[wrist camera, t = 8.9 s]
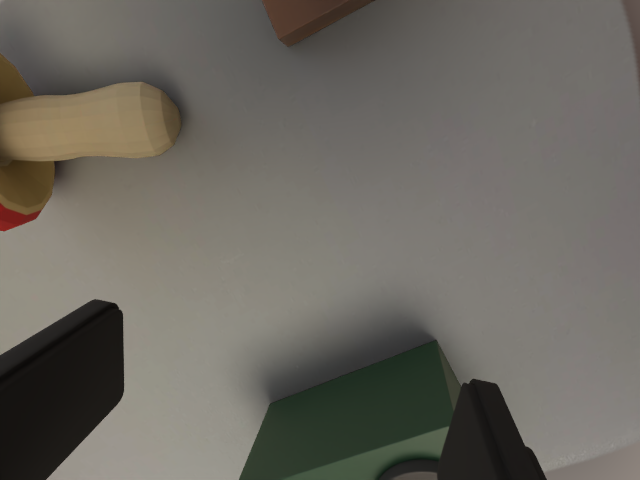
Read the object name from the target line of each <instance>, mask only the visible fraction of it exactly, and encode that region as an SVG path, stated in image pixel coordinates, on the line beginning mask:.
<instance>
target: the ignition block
mask: <svg viewBox="0 0 640 480" xmlns="http://www.w3.org/2000/svg"><path fill="white" fill-rule="evenodd" d="M373 1H374V0H262V2H263V4H264V7H265V9H266V11H267V14H268V16H269V18H270V21H271V23H272V26H273V28H274V30H275V33H276V35H277V37H278V39H279V40H280V41H281V42H283V43H284V44H285V45H286V46H287V47H289V46H291V45H293V44H295V43H297V42H298V41H300V40H302V39H304V38H306V37H308V36H309V35H311V34H313V33H315V32H317V31H319V30H321V29H322V28H324V27H326V26H328V25H330V24H332V23H334V22H335V21H337V20H339V19H341V18H343V17H345V16H347V15H348V14H350V13H352V12H354V11H356V10H358V9H360V8H361V7H363V6H365V5H367V4H369V3H371V2H373Z"/></svg>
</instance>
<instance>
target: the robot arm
mask: <svg viewBox="0 0 640 480" xmlns="http://www.w3.org/2000/svg"><path fill="white" fill-rule="evenodd" d="M123 393H124V351H123V313H122V311H121V310H119V308H118V306H117V304H115V303H111V302H107V301H102V300H96V299H94V300H92V301H90V302H88V303H87V304H85V305H83V306H82V307H80V308H78V309H77V310H75V311H73V312H72V313H70V314H68V315H67V316H65V317H63V318H62V319H60V320H58V321H57V322H55V323H53V324H52V325H50V326H48V327H47V328H45V329H43V330H42V331H40V332H38V333H37V334H35V335H33V336H32V337H30V338H28V339H27V340H25V341H23V342H22V343H20V344H18V345H17V346H15V347H13V348H12V349H10V350H8V351H7V352H5V353H3V354H2V355H0V480H46V479H47V478H48V477H49V476H50V475H51V474H52V473H53V472H54V471H55V470H56V468H57V467H58V466H59V465H60V464H61V463H62V462H63V461H64V460H65V459H66V458H67V457H68V456H69V455H70V454H71V453H72V452H73V451H74V450H75V448H76V447H77V446H78V445H79V444H80V443H81V442H82V441H83V440H84V439H85V438H86V437H87V436H88V435H89V434H90V433H91V432H92V431H93V429H94V428H95V427H96V426H97V425H98V424H99V423H100V422H101V421H102V420H103V419H104V418H105V417H106V416H107V415H108V414H109V413H110V412H111V410H112V409H113V408H114V407H115V406H116V405H117V404H118V403H119V402H120V400H121V398H122V396H123ZM437 480H547V479H546V477H545V475H544V473H543V471H542V469H541V466H540V464H539V462H538V460H537V458H536V456H535V454H534V453H533V451H532V450H531V449H530V448H529V447H526V446H525V445H524V443H523V440H522V438H521V436H520V434H519V431H518V429H517V427H516V425H515V423H514V420H513V418H512V416H511V414H510V411H509V409H508V407H507V405H506V402H505V400H504V398H503V396H502V394H501V391H500V389H499V387H498V385H497V384H495V383H490V382H486V381H481V380H476V379H472V380H471V381H470V383H469V384H467V383H463V385H462V387H461V390H460V393H459V396H458V400H457V403H456V406H455V410H454V413H453V416H452V420H451V423H450V426H449V430H448V433H447V436H446V439H445V443H444V446H443V449H442V453H441V456H440V459H439V463H438V468H437Z"/></svg>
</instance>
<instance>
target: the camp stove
mask: <svg viewBox="0 0 640 480" xmlns="http://www.w3.org/2000/svg"><path fill="white" fill-rule="evenodd" d="M460 390H461V386H460V384H459V382H458V380H457V378H456V376H455V374H454V372H453V371H452V369H451V367H450V365H449V363H448V361H447V359H446V357H445V356H444V354H443V352H442V350H441V348H440V346H439V344H438V342H437V341H436V340H435V341H433V342H430V343H427V344H425V345H422V346H420V347H417V348H414V349H412V350H409V351H407V352H404V353H401V354H399V355H396V356H394V357H391V358H388V359H386V360H383V361H381V362H378V363H375V364H373V365H370V366H368V367H365V368H362V369H360V370H357V371H355V372H352V373H349V374H347V375H344V376H342V377H339V378H336V379H334V380H331V381H329V382H326V383H323V384H321V385H318V386H316V387H313V388H310V389H308V390H305V391H303V392H300V393H297V394H295V395H292V396H290V397H287V398H284V399H282V400H279V401H277V402H274V403H271V404H270V405H269V408H268V410H267V413H266V415H265V417H264V420H263V422H262V425H261V427H260V430H259V432H258V434H257V437H256V439H255V442H254V444H253V447H252V449H251V451H250V454H249V456H248V459H247V461H246V464H245V466H244V468H243V471H242V473H241V476H240V478H239V480H437V468H438V463H439V459H440V456H441V453H442V449H443V446H444V443H445V439H446V436H447V433H448V430H449V426H450V423H451V420H452V416H453V413H454V410H455V406H456V403H457V400H458V396H459V393H460Z"/></svg>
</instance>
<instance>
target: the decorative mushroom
mask: <svg viewBox="0 0 640 480" xmlns="http://www.w3.org/2000/svg"><path fill="white" fill-rule="evenodd" d="M180 128H181V118H180V113H179V110H178V108H177V107H176V105H175V104H174V103H173V102H172V101H171V100H170V98H169V97H168V96H167V95H166V94H165V92H164V91H162V90H160V89H158V88H155V87H153V86H151V85H149V84H146V83H144V82H129V83H118V84H114V85H111V86H107V87H103V88H100V89H96V90H92V91H88V92H85V93H78V94H71V95H65V96H64V95H41V96H34V95H33V92H32V91H31V89H30V88H29V87H28V85H27V84H26V82H25V81H24V79H23V78H22V76H21V75H20V73H19V72H18V70H17V69H16V67H15V66H14V65H12V64H11V63H10V62H9V61H8V60H7V59H6V58H5V57H4V56H3V55H2V54H1V53H0V231H6V230H9V229H12V228H14V227H17V226H20V225H22V224H25V223H27V222H30V221H32V220H34V219H36V218H37V217H38V215H39V214H40V212H41V211H42V209H43V208H44V206H45V205H46V203H47V202H48V200H49V198H50V197H51V195H52V190H53V184H54V177H55V167H54V161H58V160H68V159H73V158H78V157H83V156H111V157H127V158H141V157H150V156H158V155H161V154H162V153H164V152H165V151H166V150H168V149H169V148H171V147H172V146H173V145H174V144H175V141H176V139H177V136H178V133H179V131H180Z"/></svg>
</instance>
